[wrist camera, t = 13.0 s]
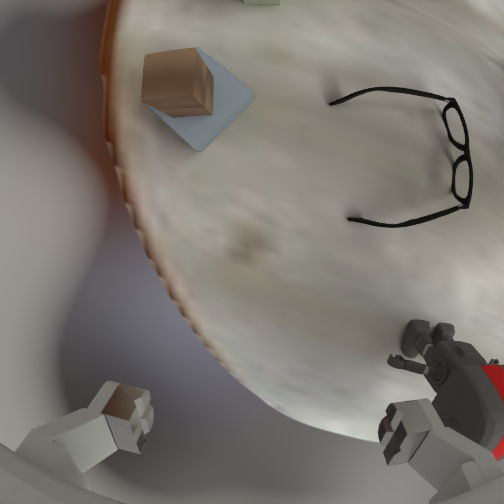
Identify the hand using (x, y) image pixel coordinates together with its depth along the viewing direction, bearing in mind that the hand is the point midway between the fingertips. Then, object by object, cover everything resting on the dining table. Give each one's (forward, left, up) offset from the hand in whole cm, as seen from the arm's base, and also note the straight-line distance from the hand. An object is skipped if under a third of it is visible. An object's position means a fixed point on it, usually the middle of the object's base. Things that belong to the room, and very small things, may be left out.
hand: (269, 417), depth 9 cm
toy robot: (-2, +30, -29) cm, 42 cm away
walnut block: (-8, -16, -26) cm, 31 cm away
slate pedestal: (-8, -16, -30) cm, 35 cm away
